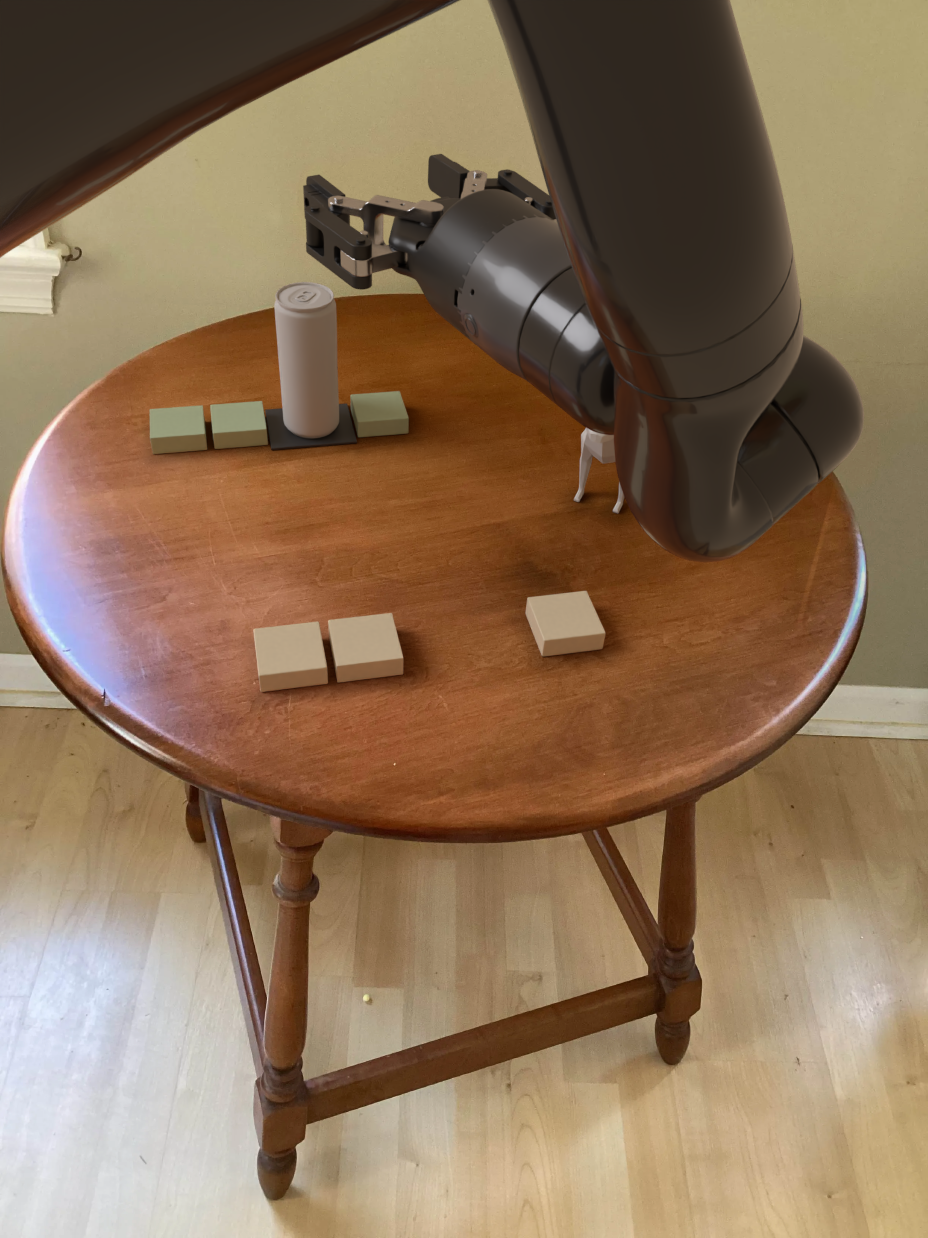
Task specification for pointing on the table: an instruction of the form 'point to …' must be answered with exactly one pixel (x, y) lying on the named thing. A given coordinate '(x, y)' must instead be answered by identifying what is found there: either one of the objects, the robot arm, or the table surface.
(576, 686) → the table surface
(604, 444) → the cat figurine
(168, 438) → the far word
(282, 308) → the beverage can
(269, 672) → the near word
